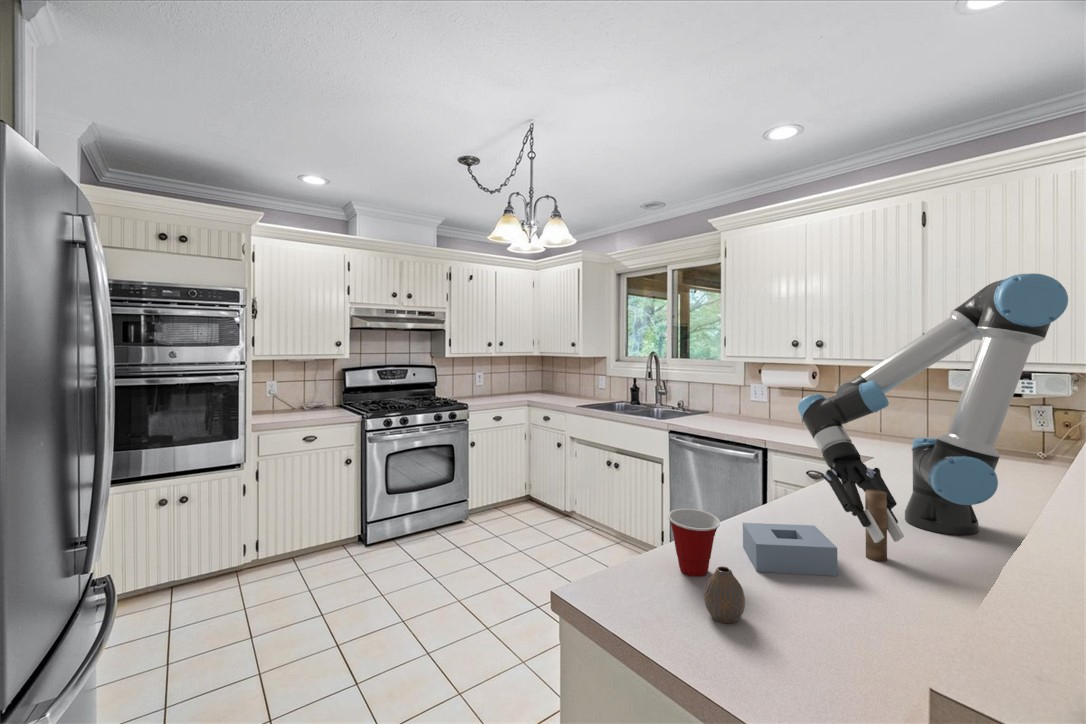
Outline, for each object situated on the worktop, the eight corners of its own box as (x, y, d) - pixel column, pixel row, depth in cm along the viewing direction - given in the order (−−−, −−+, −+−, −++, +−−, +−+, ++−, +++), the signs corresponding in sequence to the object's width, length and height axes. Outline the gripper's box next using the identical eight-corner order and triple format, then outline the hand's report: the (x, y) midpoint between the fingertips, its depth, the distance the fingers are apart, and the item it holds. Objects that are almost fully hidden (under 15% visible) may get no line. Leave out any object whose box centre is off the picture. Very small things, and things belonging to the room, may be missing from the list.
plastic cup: (699, 588, 98) (699, 529, 98) (658, 569, 107) (657, 515, 107) (731, 573, 105) (730, 517, 104) (690, 556, 114) (689, 505, 113)
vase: (749, 630, 84) (748, 579, 83) (706, 626, 85) (706, 576, 85) (741, 608, 90) (740, 562, 90) (702, 605, 92) (701, 559, 92)
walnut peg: (881, 554, 112) (881, 489, 112) (890, 562, 108) (890, 495, 108) (862, 553, 113) (862, 489, 112) (870, 561, 109) (870, 494, 108)
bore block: (814, 550, 115) (814, 525, 115) (837, 576, 102) (837, 547, 102) (742, 547, 118) (742, 522, 118) (756, 571, 105) (756, 543, 105)
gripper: (861, 455, 126) (915, 544, 110) (798, 458, 125) (844, 548, 109) (877, 439, 121) (936, 529, 104) (811, 441, 119) (861, 534, 103)
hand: (889, 539), depth 107 cm, fingers closed on walnut peg, 4 cm apart
